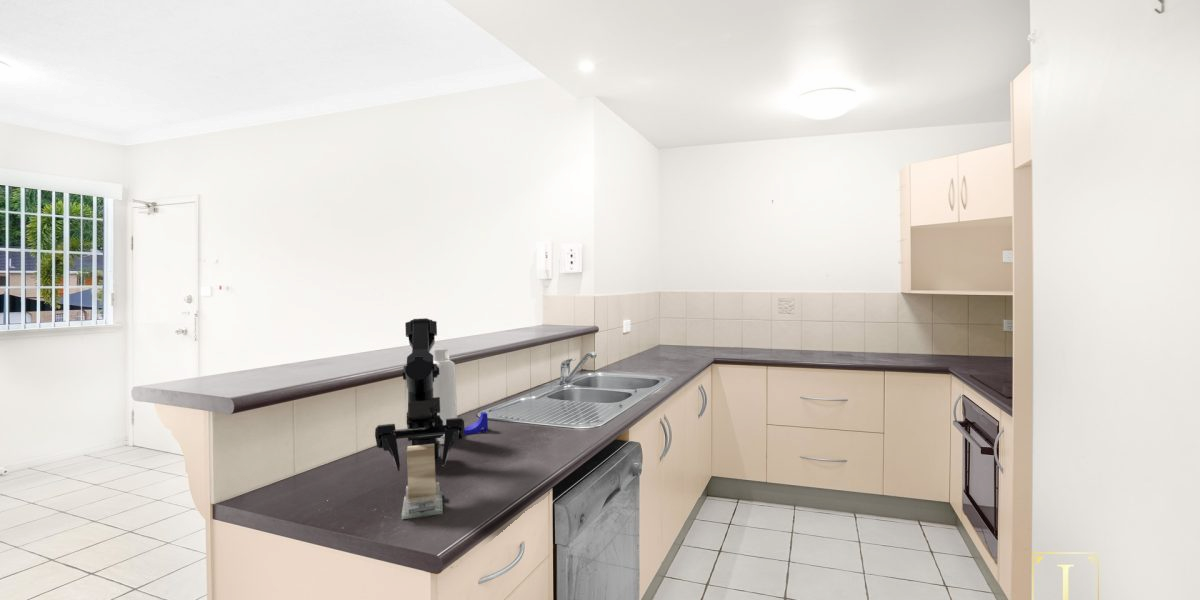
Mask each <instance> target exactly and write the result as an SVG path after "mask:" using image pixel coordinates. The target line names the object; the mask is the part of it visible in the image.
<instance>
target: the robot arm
mask: <svg viewBox="0 0 1200 600" xmlns="http://www.w3.org/2000/svg"><path fill="white" fill-rule="evenodd" d="M437 323H438V322H437V321H436V320H433V319H429V318H425V317H423V318H413V319H411V320H410V321H407V322H405V324H404V325H405V337H406V338H408V343H409V346H410V347H411V353H410V354H409V355H407V356H406V364H405V365H403V368H402V379H403V381H406V389H407V412H406V426H407V427H406V428H399V429H397V428H396V424H395V423H386V424H378V425H377V426H376V427H375V429H374V437H375V442H376V448H378V449H383V451H384V452H385V451H386V452H387V451H388V452H389V454H390V456H391V457H392V459H393V462H394V464H395V468H396V470H397V472H401V463H400V455H399V448H398V439H407V441H408V442H410V441H411V446H416V445H425V444H434V452H435V463H437V461H438V460H439V458H440V456H441V444H440V441H438V438H441V436H443V434H445V437H444V438H445V439H444V444H443V449H442V450H443V451H442V467H445V466H446V464H447V460H448V458H449V455H450V453H451V450H452V449H453V447H454V445H455V444H456V445H457V444H458V443H459V441H463V440H464V439H465V435H464V428H465V420H464V418H462V417H457V418H450V419H446V425H443V420H442V419H441V418H440V415H438V416H437V413H440V397H435V398H434V397H433V382H434V378H437V376H438V375H439V367H437V365H436V364H434V362H433V354H432V353H430V352H431V350H432V348H434V345H435V343H436V341H435V339H436V338H435V337H436V336H438V327H437Z"/></svg>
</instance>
